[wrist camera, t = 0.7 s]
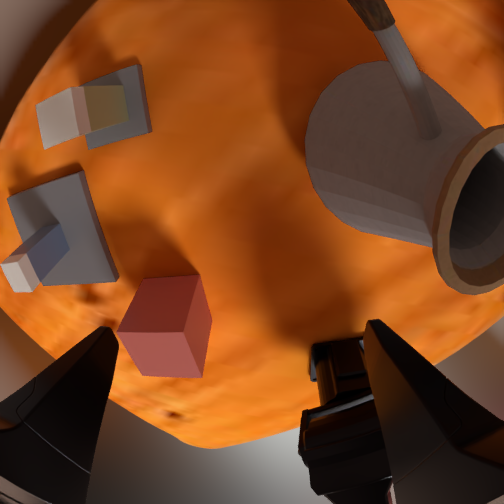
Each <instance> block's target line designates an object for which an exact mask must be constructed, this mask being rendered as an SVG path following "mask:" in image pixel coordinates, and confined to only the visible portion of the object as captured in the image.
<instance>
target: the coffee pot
mask: <svg viewBox="0 0 504 504" xmlns="http://www.w3.org/2000/svg"><path fill="white" fill-rule="evenodd" d="M347 1H348V2H349V3H350V5H351V6H352V7H353V8H354V10H355V11H356V12H357V14H358V15H359V16H360V18H361V19H362V20H363V22H364V23H365V25H366V26H367V27H368V29H369V30H371V31H373V33H374V35H375V36H376V38H377V40H378V42H379V44H380V45H381V47H382V49H383V51H384V53H385V55H386V57H387V59H388V61H375V62H369V63H364V64H358V65H357V66H355V67H353V68H351V69H349V70H347V71H345V72H343V73H342V74H340V75H338V76H337V77H336V78H335V79H334V80H333V81H332V82H331V83H330V84H329V85H328V86H327V87H326V88H325V89H324V90H323V92H322V93H321V94H320V96H319V98H318V100H317V102H316V104H315V106H314V108H313V110H312V112H311V114H310V117H309V122H308V126H307V131H306V136H305V153H306V166H307V169H308V172H309V175H310V178H311V181H312V184H313V188H314V189H315V191H316V192H317V194H318V195H319V197H320V198H321V200H322V202H323V203H324V205H325V206H326V207H327V208H328V209H329V210H330V211H331V212H332V213H333V214H334V215H335V216H336V217H338V218H339V219H340V220H341V221H342V222H343V223H345V224H347V225H349V226H351V227H353V228H355V229H357V230H359V231H361V232H366V233H370V234H375V235H380V236H384V237H389V238H393V239H398V240H402V241H407V242H411V243H415V244H420V245H424V246H428V247H432V248H433V255H434V259H435V262H436V266H437V269H438V273H439V274H440V276H441V277H442V279H443V280H444V281H445V283H446V284H447V285H448V286H449V287H451V288H453V289H454V290H456V291H458V292H460V293H462V294H469V295H478V294H482V293H487V292H490V291H492V290H493V289H495V288H497V287H499V286H501V285H503V284H504V124H503V125H497V126H492V127H488V128H486V129H484V128H483V127H482V126H481V125H480V124H479V123H478V122H477V120H476V119H475V118H474V117H473V116H472V115H471V114H470V113H469V112H468V111H467V110H466V109H465V108H464V107H463V106H462V105H461V104H460V103H458V102H457V101H456V100H455V99H454V98H453V97H452V96H451V95H450V94H449V93H448V92H447V91H445V90H444V89H443V88H442V87H441V86H440V85H438V84H437V83H436V82H435V81H434V80H433V79H431V78H430V77H429V76H428V75H426V74H425V73H423V72H421V71H419V70H418V68H417V66H416V64H415V62H414V60H413V57H412V55H411V53H410V51H409V50H408V48H407V46H406V44H405V42H404V40H403V38H402V36H401V35H400V33H399V31H398V29H397V27H396V26H395V24H394V23H395V20H394V18H393V16H392V14H391V12H390V10H389V8H388V6H387V4H386V2H385V1H384V0H347Z"/></svg>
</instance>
